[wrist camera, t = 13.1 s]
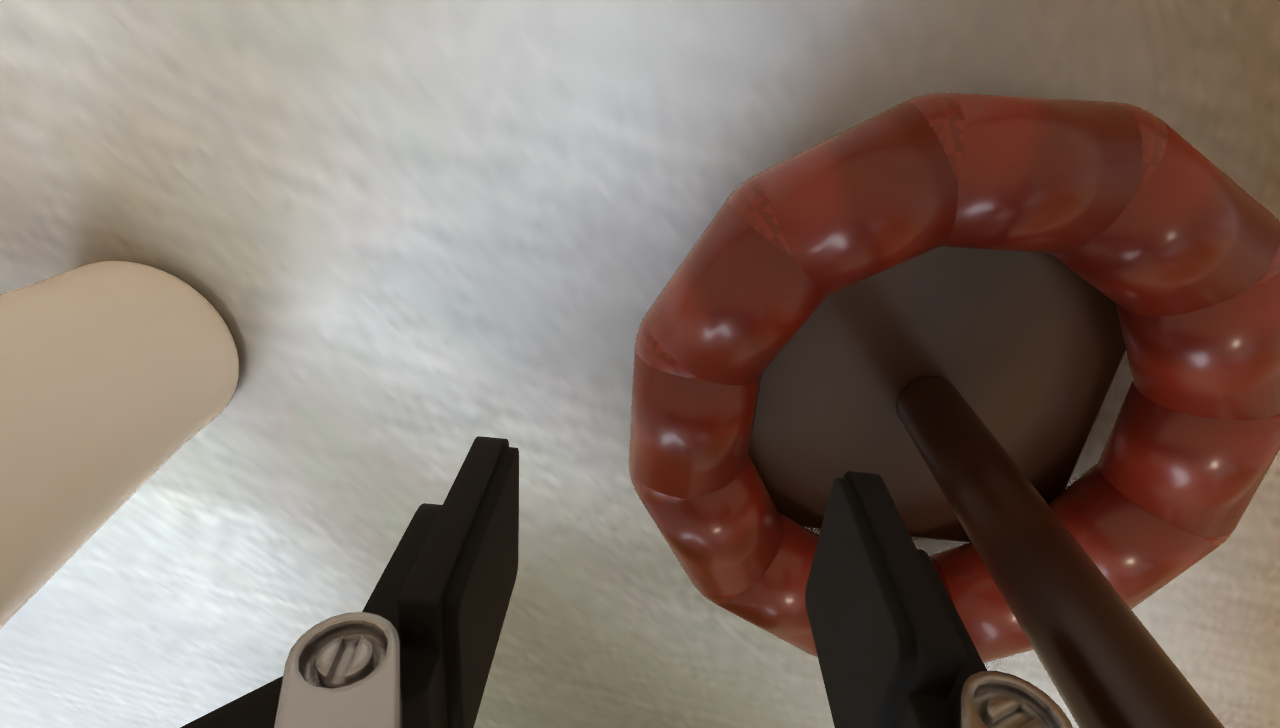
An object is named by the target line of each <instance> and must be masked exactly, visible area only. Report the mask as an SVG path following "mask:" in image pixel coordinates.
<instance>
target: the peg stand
mask: <svg viewBox="0 0 1280 728" xmlns="http://www.w3.org/2000/svg"><path fill="white" fill-rule="evenodd" d="M1125 352H1126V347H1125V343H1124V338H1123V334H1122V330H1121V325H1120V321H1119V316H1118V312H1117V308H1116V303H1115V302H1113V301H1112V300H1111V299H1109V298H1108V297H1107V296H1105V295H1104V294H1103V293H1101V292H1100V291H1099V290H1097V289H1096V288H1095V287H1093V286H1092V285H1091V284H1089V283H1088V282H1087V281H1085V280H1084V279H1083V278H1081V277H1080V276H1079V275H1077V274H1076V273H1075V272H1073V271H1072V270H1071V269H1069V268H1068V267H1067V266H1066V265H1064V264H1063V263H1062V262H1060V261H1059V260H1058V259H1056V258H1055V257H1054V256H1052V255H1051V254H1050V253H1037V252H1022V251H1006V250H990V249H975V248H959V247H943V246H940V247H938V248H935V249H933V250H931V251H929V252H926V253H924V254H922V255H919V256H917V257H915V258H912V259H910V260H908V261H905V262H903V263H901V264H898V265H896V266H894V267H892V268H889V269H887V270H885V271H882V272H880V273H878V274H875V275H873V276H871V277H868V278H866V279H864V280H861V281H859V282H857V283H855V284H852V285H850V286H848V287H845V288H843V289H841V290H838V291H836V292H834V293H831V294H829V295H827V296H826V298H825V299H824V300H823V301H822V302H821V304H820V305H819V306H818V307H817V308H816V310H815V311H814V312H813V313H812V314H811V316H810V317H809V318H808V319H807V320H806V322H805V323H804V324H803V325H802V326H801V328H800V329H799V330H798V331H797V332H796V334H795V335H794V336H793V337H792V338H791V340H790V341H789V342H788V343H787V344H786V346H785V347H784V348H783V349H782V350H781V352H780V353H779V354H778V355H777V356H776V358H775V359H774V360H773V361H772V362H771V364H770V365H769V366H768V367H767V368H766V370H765V371H764V372H763V373H762V374H761V376H760V377H759V384H758V391H757V397H756V404H755V411H754V418H753V425H752V432H751V439H750V446H749V452H748V455H749V456H750V458H751V460H752V462H753V464H754V466H755V468H756V470H757V472H758V474H759V476H760V478H761V480H762V482H763V483H764V485H765V487H766V489H767V491H768V493H769V495H770V497H771V499H772V501H773V503H774V505H775V507H776V508H777V510H778V512H779V513H781V514H782V515H784V516H786V517H788V518H789V519H791V520H793V521H794V522H796V523H798V524H800V525H801V526H803V527H810V528H821V526H822V523H823V519H824V515H825V511H826V507H827V503H828V499H829V495H830V491H831V488H832V484H833V481H834V479H835V478H843V477H844V475H845V473H846V472H847V471H854V472H864V473H875V474H879V475H880V476H881V477H882V479H883V481H884V483H885V485H886V487H887V489H888V491H889V493H890V495H891V497H892V499H893V502H894V504H895V506H896V508H897V510H898V512H899V514H900V516H901V518H902V520H903V522H904V524H905V526H906V528H907V530H908V532H909V534H910V536H911V537H917V538H928V539H939V540H950V541H961V542H972V544H973V546H974V547H975V549H976V551H977V552H978V554H979V556H980V558H981V559H982V561H983V563H984V565H985V566H986V568H987V570H988V571H989V573H990V575H991V577H992V578H993V580H994V582H995V583H996V585H997V587H998V589H999V590H1000V592H1001V594H1002V596H1003V597H1004V599H1005V601H1006V602H1007V604H1008V606H1009V608H1010V609H1011V611H1012V613H1013V614H1014V616H1015V618H1016V620H1017V621H1018V623H1019V625H1020V627H1021V628H1022V630H1023V632H1024V633H1025V635H1026V637H1027V639H1028V640H1029V642H1030V644H1031V645H1032V647H1033V649H1034V651H1035V652H1036V654H1037V656H1038V658H1039V659H1040V661H1041V663H1042V664H1043V666H1044V668H1045V670H1046V671H1047V673H1048V675H1049V677H1050V678H1051V680H1052V682H1053V683H1054V685H1055V687H1056V689H1057V690H1058V692H1059V694H1060V695H1061V697H1062V699H1063V701H1064V702H1065V704H1066V706H1067V708H1068V709H1069V711H1070V713H1071V714H1072V716H1073V718H1074V720H1075V721H1076V723H1077V725H1078V726H1079V728H1224V726H1223V725H1222V724H1221V723H1220V721H1219V720H1218V719H1217V718H1216V716H1215V715H1214V714H1213V712H1212V711H1211V710H1210V709H1209V707H1208V706H1207V705H1206V704H1205V702H1204V701H1203V700H1202V699H1201V697H1200V696H1199V695H1198V694H1197V692H1196V691H1195V690H1194V688H1193V687H1192V686H1191V685H1190V683H1189V682H1188V681H1187V680H1186V678H1185V677H1184V676H1183V675H1182V673H1181V672H1180V671H1179V669H1178V668H1177V667H1176V666H1175V664H1174V663H1173V662H1172V661H1171V659H1170V658H1169V657H1168V656H1167V654H1166V653H1165V652H1164V651H1163V649H1162V648H1161V647H1160V645H1159V644H1158V643H1157V642H1156V640H1155V639H1154V638H1153V637H1152V635H1151V634H1150V633H1149V632H1148V630H1147V629H1146V628H1145V627H1144V625H1143V624H1142V623H1141V621H1140V620H1139V619H1138V618H1137V616H1136V615H1135V614H1134V613H1133V611H1132V610H1131V609H1130V608H1129V606H1128V605H1127V604H1126V602H1125V601H1124V600H1123V599H1122V597H1121V596H1120V595H1119V594H1118V592H1117V591H1116V590H1115V589H1114V587H1113V586H1112V585H1111V584H1110V582H1109V581H1108V580H1107V578H1106V577H1105V576H1104V575H1103V573H1102V572H1101V571H1100V570H1099V568H1098V567H1097V566H1096V565H1095V563H1094V562H1093V561H1092V560H1091V558H1090V557H1089V556H1088V554H1087V553H1086V552H1085V551H1084V549H1083V548H1082V547H1081V546H1080V544H1079V543H1078V542H1077V541H1076V539H1075V538H1074V537H1073V535H1072V534H1071V533H1070V532H1069V530H1068V529H1067V528H1066V527H1065V525H1064V524H1063V523H1062V522H1061V520H1060V519H1059V518H1058V517H1057V515H1056V514H1055V513H1054V511H1053V510H1052V509H1051V508H1050V506H1049V505H1048V504H1049V503H1050V502H1051V501H1052V500H1054V499H1055V498H1056V497H1057V496H1058V495H1060V494H1061V493H1062V492H1063V491H1064V490H1065V489H1066V487H1067V485H1068V482H1069V480H1070V478H1071V475H1072V473H1073V471H1074V469H1075V466H1076V464H1077V462H1078V459H1079V457H1080V455H1081V452H1082V450H1083V448H1084V446H1085V443H1086V441H1087V439H1088V436H1089V434H1090V432H1091V430H1092V427H1093V425H1094V423H1095V420H1096V418H1097V416H1098V413H1099V411H1100V409H1101V407H1102V404H1103V402H1104V400H1105V397H1106V395H1107V393H1108V391H1109V388H1110V386H1111V384H1112V381H1113V379H1114V377H1115V374H1116V372H1117V370H1118V368H1119V365H1120V363H1121V361H1122V358H1123V356H1124V354H1125Z"/></svg>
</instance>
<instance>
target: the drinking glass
mask: <svg viewBox="0 0 1280 728" xmlns="http://www.w3.org/2000/svg"><path fill="white" fill-rule="evenodd" d="M238 378H239V358H238V352H237V349H236V345H235V342H234V340H233V337H232V335H231V333H230V331H229V329H228V327H227V325H226V323H225V322H224V320H223V319H222V317H221V316H220V314H219V313H218V312H217V311H216V309H215V308H214V307H213V306H212V305H211V304H210V303H209V302H208V301H207V300H206V299H205V298H204V297H203V296H202V295H201V294H200V293H199V292H197V291H196V290H195V289H194V288H192V287H191V286H190V285H188V284H187V283H185V282H184V281H182V280H180V279H179V278H177V277H175V276H173V275H171V274H169V273H167V272H165V271H162V270H160V269H157V268H154V267H151V266H148V265H144V264H140V263H135V262H127V261H102V262H96V263H91V264H87V265H84V266H80V267H77V268H74V269H72V270H69V271H66V272H64V273H61V274H59V275H56V276H53V277H51V278H48V279H45V280H43V281H40V282H38V283H35V284H32V285H29V286H26V287H22V288H19V289H15V290H12V291H8V292H5V293H2V294H0V629H1V628H2V627H3V626H4V625H5V624H6V623H7V622H8V621H9V620H10V619H11V618H12V617H13V615H14V614H15V613H16V612H17V611H18V610H19V609H20V608H21V607H22V606H23V605H24V604H25V603H26V602H27V601H28V600H29V599H30V598H31V597H32V596H33V595H34V594H35V593H36V592H37V591H38V590H39V589H40V588H41V587H42V586H43V585H44V584H45V583H46V582H47V581H48V580H49V579H50V578H51V577H52V576H53V575H54V574H55V573H56V572H57V571H58V570H59V569H60V568H61V567H62V566H63V565H64V564H65V563H66V562H67V561H68V560H69V559H70V558H71V557H72V556H73V555H74V554H75V553H76V552H77V551H78V550H79V549H80V548H81V546H82V545H83V544H84V543H85V542H86V541H87V540H88V539H89V538H90V537H91V536H92V535H93V534H94V533H95V532H96V531H97V530H98V529H99V528H100V527H101V526H102V525H103V524H104V523H105V522H106V521H107V520H108V519H109V518H110V517H111V516H112V515H113V514H114V513H115V512H116V511H117V510H118V509H119V508H120V507H121V506H122V505H123V504H124V503H125V502H126V501H127V500H128V499H129V498H130V497H131V496H132V495H133V494H134V493H135V492H136V491H137V490H138V489H139V488H140V487H141V486H142V485H143V484H144V483H145V482H146V481H147V480H148V479H149V478H150V477H151V476H152V475H153V474H154V473H155V472H156V471H157V470H158V469H159V468H160V467H161V466H162V465H163V464H164V463H165V462H166V461H167V460H168V459H169V458H170V457H171V456H172V455H173V454H174V453H175V452H177V451H178V450H179V449H180V448H181V447H182V446H183V445H184V444H185V443H186V442H187V441H188V440H190V439H191V438H192V437H193V436H194V435H196V434H197V433H198V432H199V431H200V430H202V429H203V428H204V427H205V426H207V425H208V424H209V423H210V422H211V421H212V420H214V419H215V418H216V417H217V416H218V415H219V414H220V413H221V412H222V411H223V410H224V409H225V408H226V406H227V405H228V403H229V402H230V400H231V399H232V397H233V394H234V392H235V390H236V386H237V383H238Z"/></svg>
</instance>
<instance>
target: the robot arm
mask: <svg viewBox="0 0 1280 728" xmlns="http://www.w3.org/2000/svg"><path fill="white" fill-rule="evenodd" d="M518 532H519V450H518V448H512V447H509V442H508V440H507V439H500V438H489V437H479V436H478V437H476V439H475V440H474V442H473V444H472V446H471V448H470V450H469V453H468V455H467V457H466V459H465V461H464V463H463V465H462V467H461V469H460V471H459V473H458V475H457V477H456V479H455V481H454V483H453V485H452V487H451V489H450V491H449V493H448V496H447V498H446V500H445V502H444V504H443V505H436V504H425V503H424V504H422V505H420V507H419V508H418V510H417V511H416V513H415V515H414V516H413V518H412V520H411V522H410V524H409V526H408V528H407V529H406V531H405V533H404V535H403V537H402V539H401V541H400V542H399V544H398V546H397V548H396V550H395V552H394V554H393V555H392V557H391V559H390V561H389V563H388V565H387V567H386V568H385V570H384V572H383V574H382V576H381V578H380V580H379V581H378V583H377V585H376V587H375V589H374V591H373V593H372V594H371V596H370V598H369V600H368V602H367V604H366V606H365V607H364V609H363V611H362V612H355V613H345V614H342V615H338V616H334V617H331V618H329V619H327V620H325V621H323V622H321V623H319V624H317V625H315V626H313V627H312V628H311V629H310V630H308V631H307V632H306V633H304V634H303V635H302V636H301V637H300V638H299V639H298V641H297V642H296V643H295V645H294V646H293V647H292V648H291V650H290V653H289V656H288V658H287V661H286V664H285V670H284V675H283V676H282V677H280V678H278V679H276V680H274V681H272V682H270V683H268V684H266V685H264V686H262V687H260V688H258V689H256V690H254V691H252V692H250V693H248V694H246V695H244V696H242V697H240V698H238V699H236V700H234V701H232V702H230V703H228V704H226V705H224V706H222V707H220V708H218V709H216V710H214V711H212V712H210V713H208V714H206V715H204V716H202V717H200V718H198V719H196V720H194V721H192V722H190V723H188V724H186V725H185V726H183V727H181V728H473V727H474V724H475V720H476V717H477V713H478V710H479V706H480V703H481V699H482V696H483V692H484V689H485V685H486V682H487V678H488V675H489V671H490V668H491V664H492V661H493V657H494V654H495V650H496V647H497V643H498V640H499V636H500V633H501V629H502V626H503V622H504V619H505V615H506V612H507V608H508V605H509V601H510V598H511V594H512V591H513V587H514V584H515V580H516V575H517V569H518ZM805 604H806V610H807V614H808V618H809V622H810V626H811V630H812V635H813V639H814V643H815V647H816V651H817V655H818V659H819V664H820V668H821V672H822V676H823V680H824V684H825V688H826V693H827V697H828V701H829V705H830V709H831V713H832V717H833V722H834V726H835V728H1073V727H1072V725H1071V722H1070V720H1069V719H1068V718H1067V716H1066V715H1065V713H1064V712H1063V711H1062V709H1061V708H1060V707H1059V706H1058V705H1057V704H1056V703H1055V702H1054V701H1053V700H1052V699H1051V698H1050V697H1049V696H1048V695H1047V694H1046V693H1044V692H1043V691H1041V690H1040V689H1038V688H1037V687H1035V686H1034V685H1032V684H1031V683H1029V682H1027V681H1025V680H1023V679H1021V678H1018V677H1016V676H1014V675H1011V674H1007V673H1003V672H999V671H987V669H986V667H985V665H984V663H983V661H982V659H981V657H980V655H979V653H978V651H977V649H976V647H975V645H974V643H973V641H972V639H971V637H970V635H969V633H968V631H967V630H966V628H965V626H964V624H963V622H962V620H961V618H960V616H959V614H958V612H957V610H956V608H955V606H954V604H953V602H952V600H951V598H950V596H949V594H948V592H947V590H946V588H945V586H944V584H943V582H942V580H941V578H940V576H939V574H938V572H937V570H936V568H935V566H934V564H933V562H932V560H931V559H930V557H929V556H928V554H927V553H926V552H924V551H923V550H918V549H916V547H915V545H914V543H913V541H912V538H911V536H910V534H909V532H908V530H907V528H906V526H905V524H904V522H903V520H902V518H901V516H900V514H899V512H898V510H897V508H896V506H895V504H894V502H893V499H892V497H891V495H890V493H889V491H888V489H887V487H886V485H885V483H884V481H883V479H882V477H881V476H880V475H879V474H875V473H864V472H854V471H847V472H846V473H845V475H844V477H843V478H835V479H834V481H833V484H832V488H831V491H830V495H829V499H828V503H827V507H826V511H825V515H824V519H823V523H822V526H821V530H820V534H819V538H818V542H817V546H816V550H815V554H814V558H813V562H812V565H811V569H810V573H809V577H808V581H807V585H806V591H805Z"/></svg>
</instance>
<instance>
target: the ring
mask: <svg viewBox="0 0 1280 728" xmlns="http://www.w3.org/2000/svg"><path fill="white" fill-rule="evenodd" d="M940 246H943V247H959V248H975V249H990V250H1006V251H1022V252H1037V253H1050V254H1051V255H1052V256H1054V257H1055V258H1056V259H1058V260H1059V261H1060V262H1062V263H1063V264H1064V265H1066V266H1067V267H1068V268H1069V269H1071V270H1072V271H1073V272H1075V273H1076V274H1077V275H1079V276H1080V277H1081V278H1083V279H1084V280H1085V281H1087V282H1088V283H1089V284H1091V285H1092V286H1093V287H1095V288H1096V289H1097V290H1099V291H1100V292H1101V293H1103V294H1104V295H1105V296H1107V297H1108V298H1109V299H1111V300H1112V301H1113V302H1115V303H1116V308H1117V312H1118V316H1119V321H1120V325H1121V330H1122V334H1123V338H1124V343H1125V347H1126V351H1127V356H1128V360H1129V365H1130V369H1131V373H1132V378H1133V381H1132V383H1131V385H1130V388H1129V390H1128V392H1127V395H1126V397H1125V399H1124V402H1123V404H1122V407H1121V409H1120V411H1119V414H1118V416H1117V418H1116V421H1115V423H1114V425H1113V428H1112V430H1111V433H1110V435H1109V437H1108V440H1107V442H1106V444H1105V447H1104V449H1103V451H1102V454H1101V456H1100V459H1099V461H1098V463H1096V464H1095V465H1094V466H1093V467H1092V468H1090V469H1089V470H1088V471H1087V472H1086V473H1085V474H1083V475H1082V476H1081V477H1080V478H1079V479H1077V480H1076V481H1075V482H1074V483H1073V484H1071V485H1070V486H1069V487H1068V488H1067V489H1066V490H1064V491H1063V492H1062V493H1061V494H1060V495H1058V496H1057V497H1056V498H1055V499H1054V500H1052V501H1051V502H1050V503H1049V504H1048V505H1049V506H1050V508H1051V509H1052V510H1053V511H1054V513H1055V514H1056V515H1057V517H1058V518H1059V519H1060V520H1061V522H1062V523H1063V524H1064V525H1065V527H1066V528H1067V529H1068V530H1069V532H1070V533H1071V534H1072V535H1073V537H1074V538H1075V539H1076V541H1077V542H1078V543H1079V544H1080V546H1081V547H1082V548H1083V549H1084V551H1085V552H1086V553H1087V554H1088V556H1089V557H1090V558H1091V560H1092V561H1093V562H1094V563H1095V565H1096V566H1097V567H1098V568H1099V570H1100V571H1101V572H1102V573H1103V575H1104V576H1105V577H1106V578H1107V580H1108V581H1109V582H1110V584H1111V585H1112V586H1113V587H1114V589H1115V590H1116V591H1117V592H1118V594H1119V595H1120V596H1121V597H1122V599H1123V600H1124V601H1125V602H1126V604H1127V605H1128V606H1129V608H1130V609H1132V608H1134V607H1135V606H1137V605H1138V604H1139V603H1141V602H1142V601H1144V600H1145V599H1146V598H1148V597H1149V596H1151V595H1152V594H1153V593H1155V592H1156V591H1157V590H1159V589H1160V588H1162V587H1163V586H1164V585H1166V584H1167V583H1169V582H1170V581H1171V580H1173V579H1174V578H1176V577H1177V576H1178V575H1180V574H1181V573H1183V572H1184V571H1185V570H1187V569H1188V568H1189V567H1191V566H1192V565H1194V564H1195V563H1196V562H1198V561H1199V560H1201V559H1202V558H1203V557H1205V556H1206V555H1208V554H1209V553H1210V552H1212V551H1213V550H1215V549H1216V548H1217V547H1219V546H1220V545H1221V544H1222V543H1223V542H1225V541H1226V539H1227V538H1228V537H1229V536H1230V534H1231V533H1232V532H1233V531H1234V529H1235V528H1236V526H1237V524H1238V522H1239V521H1240V519H1241V517H1242V515H1243V514H1244V512H1245V510H1246V508H1247V506H1248V505H1249V503H1250V501H1251V499H1252V498H1253V496H1254V494H1255V492H1256V490H1257V489H1258V487H1259V485H1260V483H1261V481H1262V480H1263V478H1264V476H1265V474H1266V473H1267V471H1268V469H1269V467H1270V465H1271V464H1272V462H1273V460H1274V458H1275V456H1276V455H1277V453H1278V451H1279V449H1280V221H1279V220H1277V219H1276V218H1275V217H1274V216H1273V214H1272V213H1270V212H1269V211H1268V210H1267V209H1266V208H1265V207H1263V206H1262V205H1261V204H1260V203H1259V202H1258V201H1256V200H1255V199H1254V198H1253V197H1252V196H1250V195H1249V194H1248V193H1247V192H1246V191H1245V190H1243V189H1242V188H1241V187H1240V186H1239V185H1237V184H1236V183H1235V182H1234V181H1233V180H1232V179H1230V178H1229V177H1228V176H1227V175H1226V174H1225V173H1223V172H1222V171H1221V170H1220V169H1219V168H1217V167H1216V166H1215V165H1214V164H1213V163H1212V162H1210V161H1209V160H1208V159H1207V158H1206V157H1204V156H1203V155H1202V154H1201V153H1200V152H1199V151H1197V150H1196V149H1195V148H1194V147H1193V146H1192V145H1190V144H1189V143H1188V142H1187V141H1186V140H1184V139H1183V138H1182V137H1181V136H1180V135H1179V134H1177V133H1176V132H1175V131H1174V130H1173V129H1171V128H1170V127H1169V126H1168V125H1167V124H1166V123H1164V122H1163V121H1162V120H1161V119H1159V118H1158V117H1156V116H1155V115H1153V114H1152V113H1150V112H1148V111H1146V110H1143V109H1141V108H1138V107H1135V106H1132V105H1128V104H1123V103H1116V102H1100V101H1083V100H1065V99H1048V98H1031V97H1014V96H997V95H979V94H962V93H933V94H926V95H922V96H918V97H914V98H912V99H910V100H907V101H905V102H903V103H901V104H899V105H897V106H895V107H893V108H890V109H888V110H886V111H884V112H882V113H880V114H878V115H876V116H874V117H872V118H870V119H868V120H866V121H864V122H862V123H860V124H858V125H856V126H854V127H852V128H850V129H848V130H846V131H844V132H842V133H840V134H838V135H836V136H833V137H831V138H829V139H827V140H825V141H823V142H821V143H819V144H817V145H815V146H813V147H811V148H809V149H807V150H805V151H803V152H801V153H799V154H797V155H795V156H793V157H791V158H789V159H787V160H785V161H783V162H781V163H779V164H776V165H774V166H772V167H770V168H768V169H766V170H764V171H762V172H760V173H758V174H756V175H754V176H753V177H751V178H749V179H747V180H746V181H745V182H743V183H742V184H741V185H740V186H739V187H737V188H736V189H735V190H734V191H733V193H732V194H731V195H730V196H729V198H728V199H727V200H726V202H725V203H724V205H723V206H722V207H721V209H720V210H719V212H718V213H717V214H716V216H715V217H714V219H713V220H712V221H711V223H710V224H709V226H708V227H707V229H706V230H705V231H704V233H703V234H702V236H701V237H700V238H699V240H698V241H697V243H696V244H695V245H694V247H693V248H692V250H691V251H690V253H689V254H688V255H687V257H686V258H685V260H684V261H683V262H682V264H681V265H680V267H679V268H678V270H677V271H676V272H675V274H674V275H673V277H672V278H671V279H670V281H669V282H668V284H667V285H666V286H665V288H664V289H663V291H662V292H661V294H660V295H659V296H658V298H657V299H656V301H655V302H654V303H653V305H652V306H651V308H650V309H649V310H648V312H647V313H646V315H645V317H644V318H643V320H642V322H641V324H640V327H639V330H638V333H637V336H636V342H635V355H634V374H633V393H632V412H631V432H630V451H629V471H630V476H631V480H632V483H633V486H634V488H635V490H636V492H637V494H638V496H639V497H640V499H641V501H642V502H643V504H644V506H645V507H646V509H647V510H648V512H649V514H650V515H651V517H652V519H653V520H654V522H655V523H656V525H657V527H658V528H659V530H660V531H661V533H662V535H663V536H664V538H665V540H666V541H667V543H668V544H669V546H670V548H671V549H672V551H673V553H674V554H675V556H676V557H677V559H678V561H679V562H680V564H681V566H682V567H683V569H684V570H685V572H686V574H687V575H688V577H689V578H690V580H691V582H692V583H693V585H694V586H695V587H696V588H697V589H698V590H699V592H700V593H701V594H702V595H703V596H704V597H706V598H707V599H709V600H710V601H712V602H713V603H715V604H717V605H719V606H721V607H722V608H724V609H726V610H728V611H730V612H732V613H734V614H735V615H737V616H739V617H741V618H743V619H745V620H747V621H749V622H750V623H752V624H754V625H756V626H758V627H760V628H762V629H764V630H765V631H767V632H769V633H771V634H773V635H775V636H777V637H778V638H780V639H782V640H784V641H786V642H788V643H790V644H792V645H793V646H795V647H797V648H799V649H801V650H803V651H805V652H806V653H808V654H811V655H813V656H816V657H818V655H817V651H816V647H815V643H814V639H813V635H812V630H811V626H810V622H809V618H808V614H807V610H806V604H805V591H806V585H807V581H808V577H809V573H810V569H811V565H812V562H813V558H814V554H815V550H816V546H817V542H818V538H819V535H817V534H815V533H813V532H812V531H810V530H808V529H806V528H805V527H803V526H801V525H800V524H798V523H796V522H794V521H793V520H791V519H789V518H788V517H786V516H784V515H782V514H781V513H779V512H778V510H777V508H776V507H775V505H774V503H773V501H772V499H771V497H770V495H769V493H768V491H767V489H766V487H765V485H764V483H763V482H762V480H761V478H760V476H759V474H758V472H757V470H756V468H755V466H754V464H753V462H752V460H751V458H750V456H749V455H748V452H749V446H750V439H751V432H752V425H753V418H754V411H755V404H756V397H757V391H758V384H759V377H760V376H761V374H762V373H763V372H764V371H765V370H766V368H767V367H768V366H769V365H770V364H771V362H772V361H773V360H774V359H775V358H776V356H777V355H778V354H779V353H780V352H781V350H782V349H783V348H784V347H785V346H786V344H787V343H788V342H789V341H790V340H791V338H792V337H793V336H794V335H795V334H796V332H797V331H798V330H799V329H800V328H801V326H802V325H803V324H804V323H805V322H806V320H807V319H808V318H809V317H810V316H811V314H812V313H813V312H814V311H815V310H816V308H817V307H818V306H819V305H820V304H821V302H822V301H823V300H824V299H825V298H826V296H827V295H829V294H831V293H834V292H836V291H838V290H841V289H843V288H845V287H848V286H850V285H852V284H855V283H857V282H859V281H861V280H864V279H866V278H868V277H871V276H873V275H875V274H878V273H880V272H882V271H885V270H887V269H889V268H892V267H894V266H896V265H898V264H901V263H903V262H905V261H908V260H910V259H912V258H915V257H917V256H919V255H922V254H924V253H926V252H929V251H931V250H933V249H935V248H938V247H940ZM929 557H930V559H931V560H932V562H933V564H934V566H935V568H936V570H937V572H938V574H939V576H940V578H941V580H942V582H943V584H944V586H945V588H946V590H947V592H948V594H949V596H950V598H951V600H952V602H953V604H954V606H955V608H956V610H957V612H958V614H959V616H960V618H961V620H962V622H963V624H964V626H965V628H966V630H967V631H968V633H969V635H970V637H971V639H972V641H973V643H974V645H975V647H976V649H977V651H978V653H979V655H980V657H981V659H982V661H983V663H986V662H990V661H994V660H997V659H1001V658H1004V657H1008V656H1012V655H1015V654H1019V653H1022V652H1026V651H1030V650H1033V647H1032V645H1031V644H1030V642H1029V640H1028V639H1027V637H1026V635H1025V633H1024V632H1023V630H1022V628H1021V627H1020V625H1019V623H1018V621H1017V620H1016V618H1015V616H1014V614H1013V613H1012V611H1011V609H1010V608H1009V606H1008V604H1007V602H1006V601H1005V599H1004V597H1003V596H1002V594H1001V592H1000V590H999V589H998V587H997V585H996V583H995V582H994V580H993V578H992V577H991V575H990V573H989V571H988V570H987V568H986V566H985V565H984V563H983V561H982V559H981V558H980V556H979V554H978V552H977V551H976V549H975V547H974V546H973V544H972V542H970V543H967V544H964V545H961V546H958V547H955V548H952V549H949V550H946V551H942V552H939V553H936V554H933V555H930V556H929Z"/></svg>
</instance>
